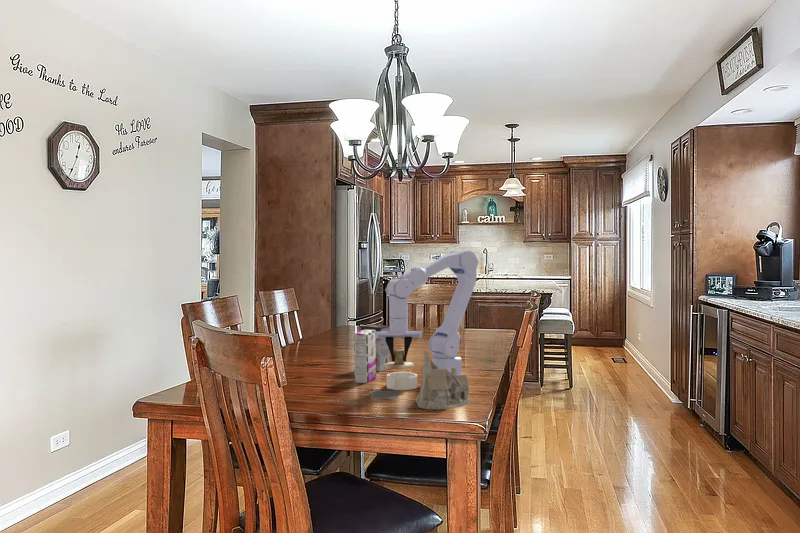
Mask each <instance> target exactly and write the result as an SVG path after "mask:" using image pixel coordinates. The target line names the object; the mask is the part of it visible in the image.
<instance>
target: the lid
mask: <svg viewBox="0 0 800 533" xmlns="http://www.w3.org/2000/svg"><path fill="white" fill-rule="evenodd" d="M384 367H385V368H389V369H391V370H394V369H395V370H403V369H404V370H405V369H406V370H407V369H413V368H414V367H415V364H414V362H410V361H406V362H404V350H402V349H401V350H394V362H392V361H389V363H385V364H384Z"/></svg>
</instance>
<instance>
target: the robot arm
mask: <svg viewBox="0 0 800 533" xmlns="http://www.w3.org/2000/svg"><path fill="white" fill-rule="evenodd" d="M479 263H480V262H479V259H478V257H477V255H476V253H475V252H474V251H472V250H469V249H468V250H451V251H449V252H447V253H444V254H443V255H442V256H441V257H438V259H437V258H436V260H434V261H433V262H431V263H430V264H427V265H426V266H425V267H423V268H422V267H419V266H418V267H416V266H413V267H412V268H410V271H409V272H407V273H405V274H399V276H398V279H397V278H394V279H391V280H390V281H388V283H387V285H386V287H385V289H384V290H385V293H386V294H387V296H388V302H389V303H388V304H389V306H388V308H389V309H388V310H389V311H388V312H389V314H388V315H389V331H380V332H375V338H376V339H377V338H385V341H386V343H387V345H388V348H389V354H390V356H391V362H394V351H395V348H394V344H395V343H394V342H395V341H394V340H395V339H404V340H403V341H404V342H403V345H404V346H403V347H404V350H403V351H404V362H407V356H408V352H409V349H410V347H411V344H412V342H413V339H417V338H418V339H423V330H419V331H418V330H409V328H408V327H409V318H408V314H409V310H408V309H409V308H408V307H409V306H408V303H409V302H408V299H409V298H408V297H409V296H410V295H411V293H412V292H413V291H414V290H416V289H418V288H420V287H421V286H424V285H426V283H427V282H428V279H429V278H430V277H432V276H434V275H436V274H437V273H440V272H441V271H445V270H446V269H447V268H449V269H450V270H451V272H452V273H453V274H454V275H455V277H456V279H457V281H458V282H457V285H456V288H455V289H454V293H453V295H452V297H451V300H450V303H449V306H448V309H447V311H446V313H445V317H444V318H443V322H442V324H441V325H440V326H439V327H438V328H437V329H435V332H434V333H433V334H432V335H431V337H430V338H429V341H428V348H429V351H431V354H432V355H431V356H432V362H433V363H434V364H435V365H436V366H438V369H447V370H448V371H449V372H451V371H452V367H456V373H457V375H463V372H462V371H463V370H462V368H463V366H462V365H463V364H462V357H461V356H457V354H458V353H459V351H460V342H461V341H460V340H461V338H462V337H461V334H460V332H459V329H460V326H461V324H462V321H463V318H464V315H465V312H466V310H467V307H468V304H469V302H470V300H471V299H470V298H471V297H472V295H473V291H474V288H475V287H476V283H477V268H478V265H479Z"/></svg>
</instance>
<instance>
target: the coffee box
mask: <svg viewBox="0 0 800 533" xmlns="http://www.w3.org/2000/svg"><path fill="white" fill-rule="evenodd" d="M362 330H375V332H380V331H390V325H383V324H372V323H371V324H364V325H360V331H362ZM389 362H390V350H389V348H388V345H387V343H386V341H385V338H377V339H376V372H378V373H379V372H380V373H381V372H383V371H387V370H389V369H390V368H385V367H384V364H385V363H389Z"/></svg>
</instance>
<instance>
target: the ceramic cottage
mask: <svg viewBox="0 0 800 533" xmlns="http://www.w3.org/2000/svg"><path fill="white" fill-rule="evenodd" d="M423 353H424V355H423V356H424V357H423V358H424V359H423V360H424V364H423V365H422V366H421V368H420V371H421V375H422V376H421V377H422V381H421V383H420V385H419V393H417V396H416V397H415V402H416V405H417V406H418V408H420V409H423V410H424V409H425V410H446V409H452V408H455V409H457V408H460V407H463V406H465V405H469V404H470V403H471V399H470V397H469V394H470V386H469V379H468V375H467V374H465V373H464V374H463V373H462V375H457V373H456V367H452V371H451V372H449V371H448V370H447V369H438V366H436V365H435V364H434V363H433V360H431V359H430V355H429V351H428V350H424V351H423ZM459 406H460V407H459ZM456 407H457V408H456Z"/></svg>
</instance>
